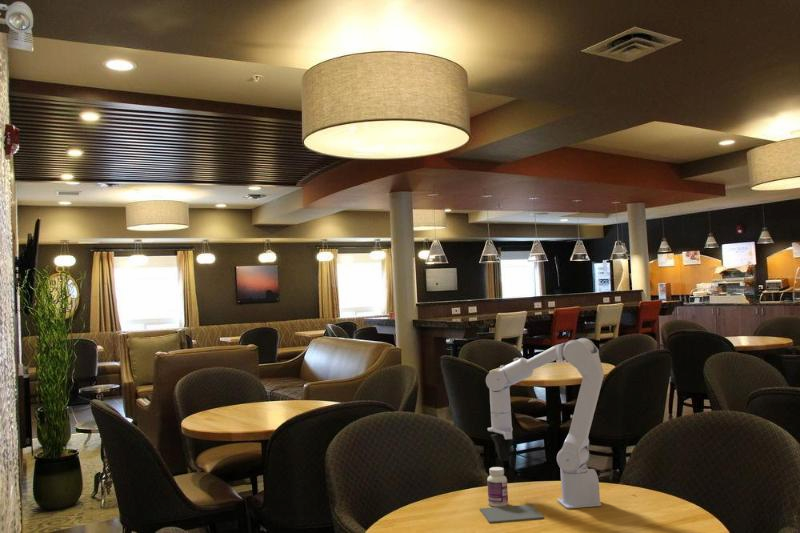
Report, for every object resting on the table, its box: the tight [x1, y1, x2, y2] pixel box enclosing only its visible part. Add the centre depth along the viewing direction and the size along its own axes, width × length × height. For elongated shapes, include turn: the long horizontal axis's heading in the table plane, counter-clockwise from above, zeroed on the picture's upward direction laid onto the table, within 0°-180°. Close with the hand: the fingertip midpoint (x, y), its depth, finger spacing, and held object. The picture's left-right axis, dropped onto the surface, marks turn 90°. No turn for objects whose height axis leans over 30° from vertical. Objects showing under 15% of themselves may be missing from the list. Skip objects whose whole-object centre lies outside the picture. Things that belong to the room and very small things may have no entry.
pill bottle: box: [486, 466, 509, 508], centre depth 182 cm, size 5×5×10 cm
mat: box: [479, 504, 545, 524], centre depth 172 cm, size 14×11×1 cm
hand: (503, 460), depth 190 cm, fingers closed
